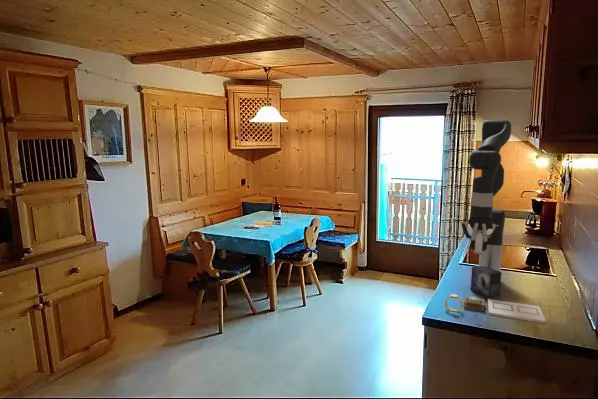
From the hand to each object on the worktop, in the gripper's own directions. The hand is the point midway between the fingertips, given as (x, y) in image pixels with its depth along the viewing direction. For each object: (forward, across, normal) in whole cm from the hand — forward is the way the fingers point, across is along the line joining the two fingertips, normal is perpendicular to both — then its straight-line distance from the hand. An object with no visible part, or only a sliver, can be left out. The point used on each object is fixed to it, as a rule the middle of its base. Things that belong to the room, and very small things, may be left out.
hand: (478, 250), depth 158 cm
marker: (+1, 0, 0) cm, 1 cm away
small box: (+22, -4, -20) cm, 30 cm away
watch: (+22, +7, +8) cm, 25 cm away
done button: (+22, 0, 0) cm, 22 cm away
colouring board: (+22, -14, -2) cm, 26 cm away
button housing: (+22, 0, 0) cm, 22 cm away
